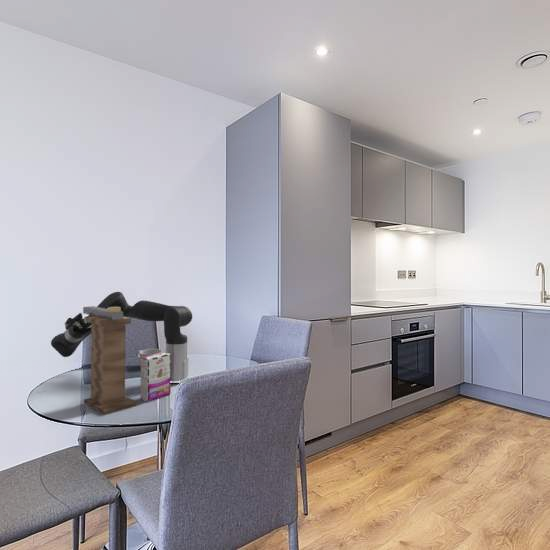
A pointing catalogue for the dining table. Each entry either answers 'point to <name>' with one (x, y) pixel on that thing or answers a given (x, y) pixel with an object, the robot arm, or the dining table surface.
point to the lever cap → (104, 312)
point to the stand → (108, 365)
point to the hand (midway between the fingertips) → (92, 314)
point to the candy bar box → (155, 376)
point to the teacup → (147, 353)
